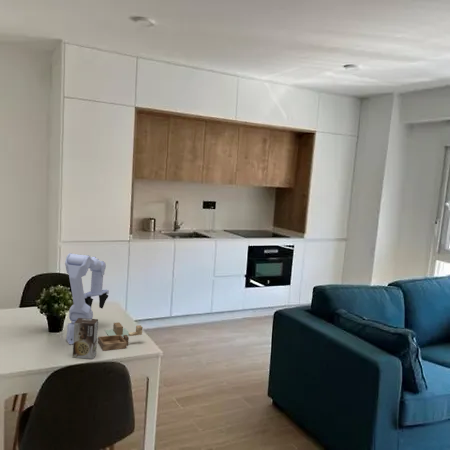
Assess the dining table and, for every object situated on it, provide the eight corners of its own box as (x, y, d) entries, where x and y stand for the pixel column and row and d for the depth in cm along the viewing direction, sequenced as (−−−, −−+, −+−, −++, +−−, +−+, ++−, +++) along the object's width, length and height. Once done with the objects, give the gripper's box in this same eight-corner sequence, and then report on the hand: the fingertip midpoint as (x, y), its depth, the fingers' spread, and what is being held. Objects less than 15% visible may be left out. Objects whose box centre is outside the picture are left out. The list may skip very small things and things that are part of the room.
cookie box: (96, 353, 203) (99, 319, 201) (92, 359, 196) (95, 323, 195) (76, 351, 202) (78, 317, 201) (71, 357, 196) (74, 322, 194)
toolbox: (102, 350, 206) (103, 342, 206) (97, 342, 215) (98, 334, 214) (130, 347, 213) (130, 339, 212) (123, 340, 221) (124, 332, 221)
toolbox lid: (109, 338, 223) (110, 329, 222) (104, 331, 231) (105, 322, 231) (130, 336, 228) (131, 327, 227) (125, 330, 237) (126, 320, 236)
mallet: (129, 336, 215) (130, 328, 215) (128, 334, 218) (128, 326, 218) (141, 335, 218) (142, 327, 218) (139, 333, 221) (140, 325, 221)
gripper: (89, 287, 222) (88, 314, 223) (113, 283, 233) (111, 308, 235) (81, 284, 226) (79, 310, 227) (104, 280, 237) (102, 305, 239)
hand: (95, 309), depth 231 cm, fingers open, 7 cm apart
